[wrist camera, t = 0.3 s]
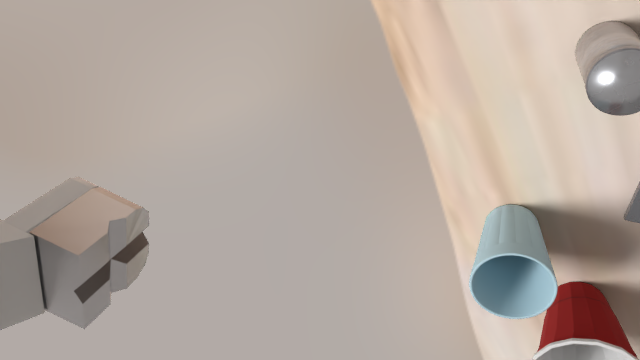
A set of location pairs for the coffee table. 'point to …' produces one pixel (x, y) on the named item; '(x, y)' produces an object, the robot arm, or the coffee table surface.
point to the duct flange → (634, 207)
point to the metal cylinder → (611, 67)
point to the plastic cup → (582, 327)
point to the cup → (513, 265)
